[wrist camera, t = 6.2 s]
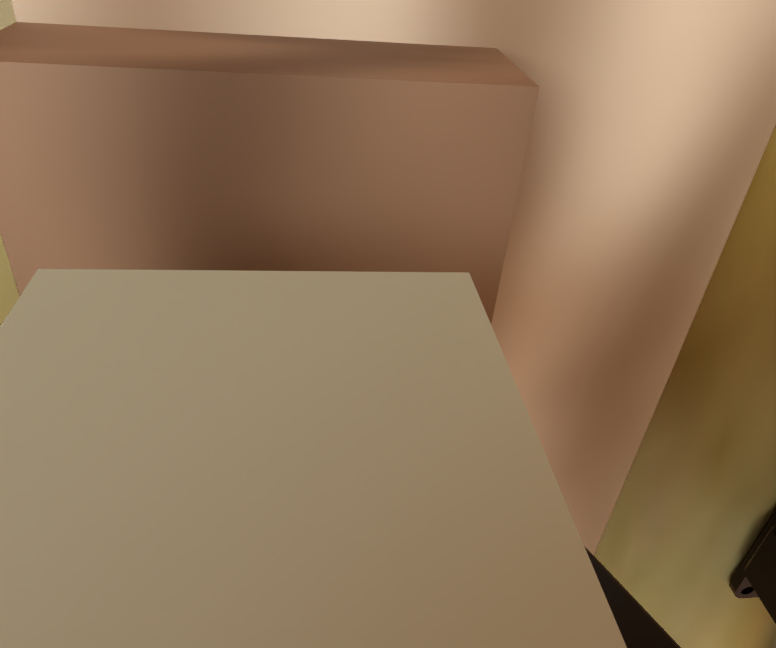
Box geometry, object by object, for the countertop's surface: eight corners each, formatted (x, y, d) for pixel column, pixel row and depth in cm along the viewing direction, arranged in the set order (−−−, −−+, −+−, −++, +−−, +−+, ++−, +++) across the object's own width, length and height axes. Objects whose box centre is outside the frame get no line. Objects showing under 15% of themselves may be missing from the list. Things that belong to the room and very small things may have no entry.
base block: (496, 48, 11) (539, 87, 9) (442, 388, 16) (462, 464, 14) (16, 21, 10) (-52, 59, 8) (105, 395, 15) (75, 478, 13)
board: (868, -200, 11) (915, -206, 10) (564, 575, 23) (574, 601, 22) (-33, -307, 9) (-66, -326, 8) (166, 600, 21) (160, 629, 21)
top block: (468, 272, 8) (741, 918, 3) (425, 529, 11) (528, 1074, 6) (37, 269, 7) (-507, 1093, 2) (113, 543, 10) (-62, 1173, 5)
